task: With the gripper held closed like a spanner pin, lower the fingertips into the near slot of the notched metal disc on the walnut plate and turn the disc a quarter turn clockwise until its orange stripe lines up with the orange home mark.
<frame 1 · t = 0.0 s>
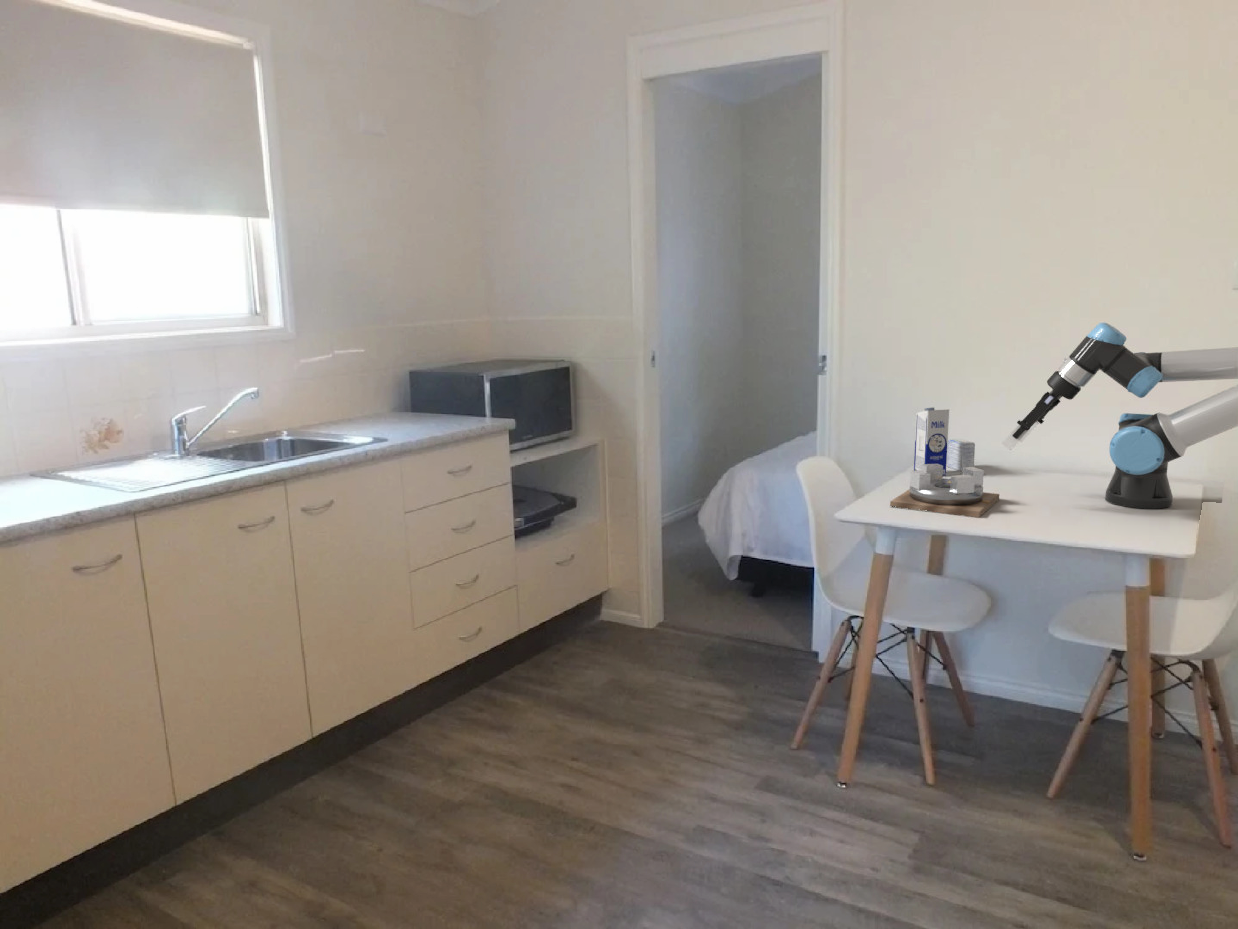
hand: (1011, 442, 242), 15 cm above the table, tool tilted 35°, fingers open, 13 cm apart
notched metal disc: (946, 483, 242), point 5 cm above the table, hinge at 0.0°
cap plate: (945, 503, 243), on the table
milk carton: (929, 474, 279), on the table
medicine box: (960, 469, 285), on the table
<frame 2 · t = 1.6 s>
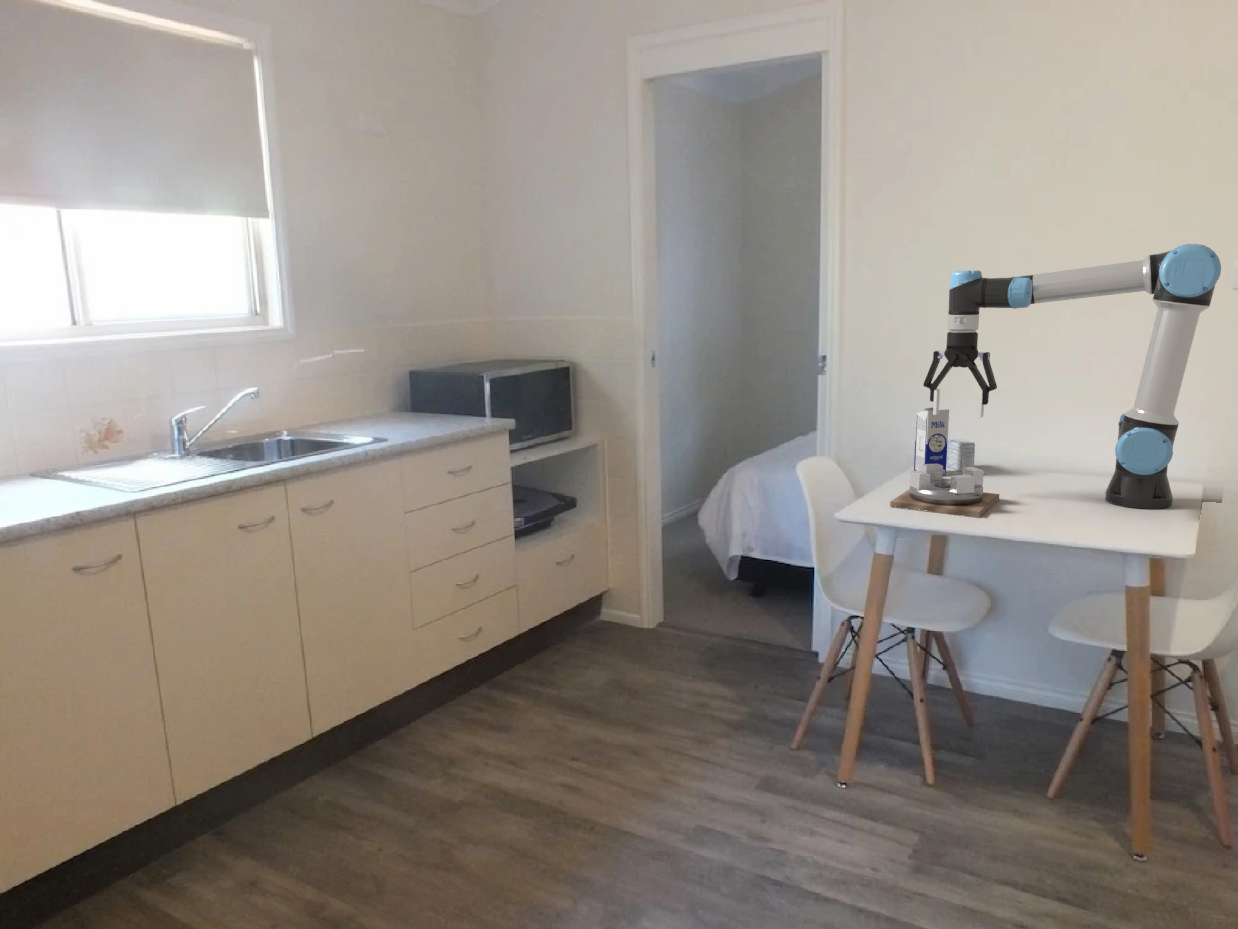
hand: (957, 415, 245), 22 cm above the table, tool pointing down, fingers open, 11 cm apart
nothing on the table moved.
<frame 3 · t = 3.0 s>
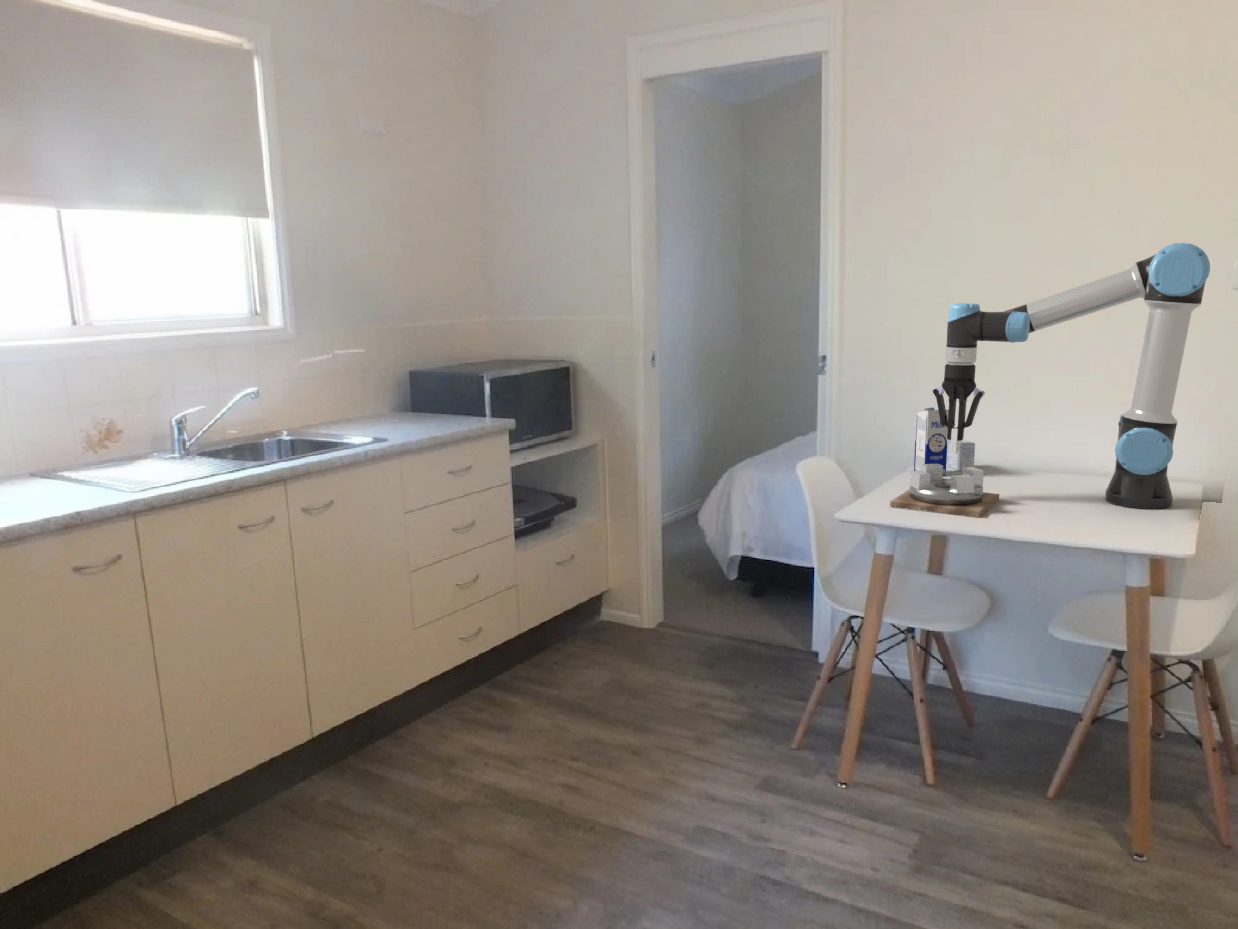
hand: (954, 452, 247), 12 cm above the table, tool pointing down, fingers closed
nothing on the table moved.
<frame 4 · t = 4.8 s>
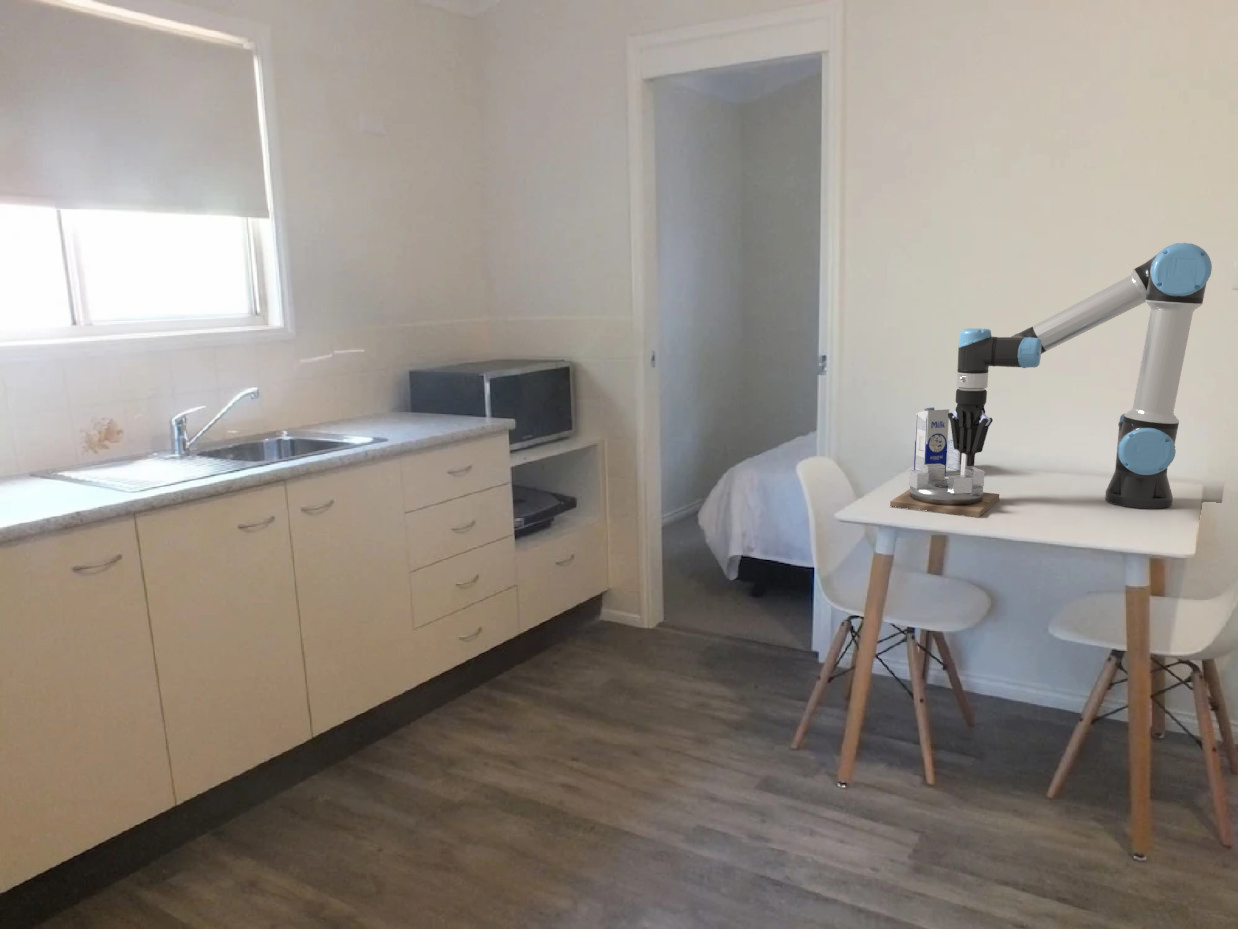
hand: (965, 477, 246), 6 cm above the table, tool pointing down, fingers closed
notched metal disc: (946, 483, 242), point 5 cm above the table, hinge at -5.0°, touching gripper
everything else where it was.
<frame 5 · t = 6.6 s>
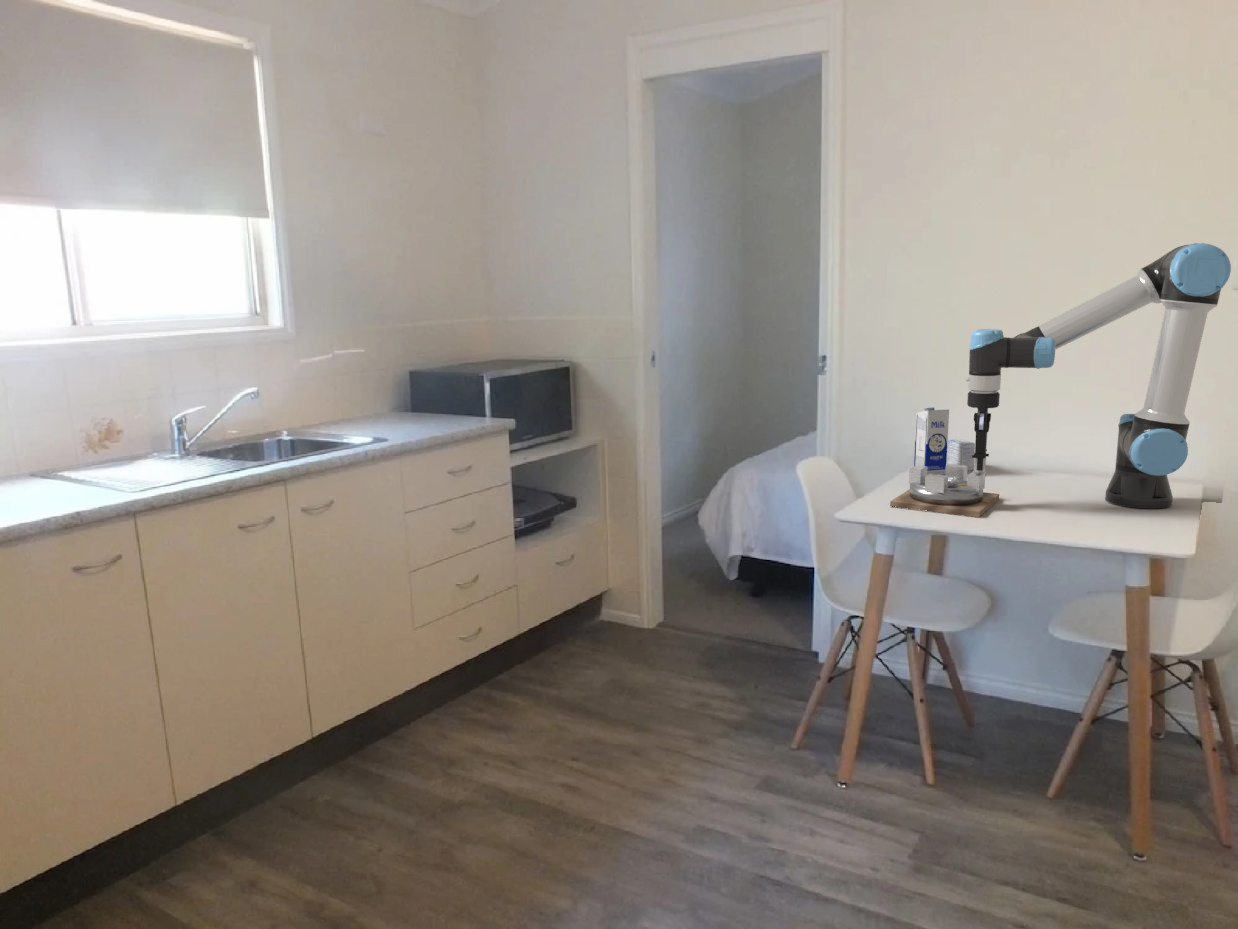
hand: (979, 481, 240), 6 cm above the table, tool pointing down, fingers closed
notched metal disc: (946, 483, 242), point 5 cm above the table, hinge at -49.1°, touching gripper
everything else where it was.
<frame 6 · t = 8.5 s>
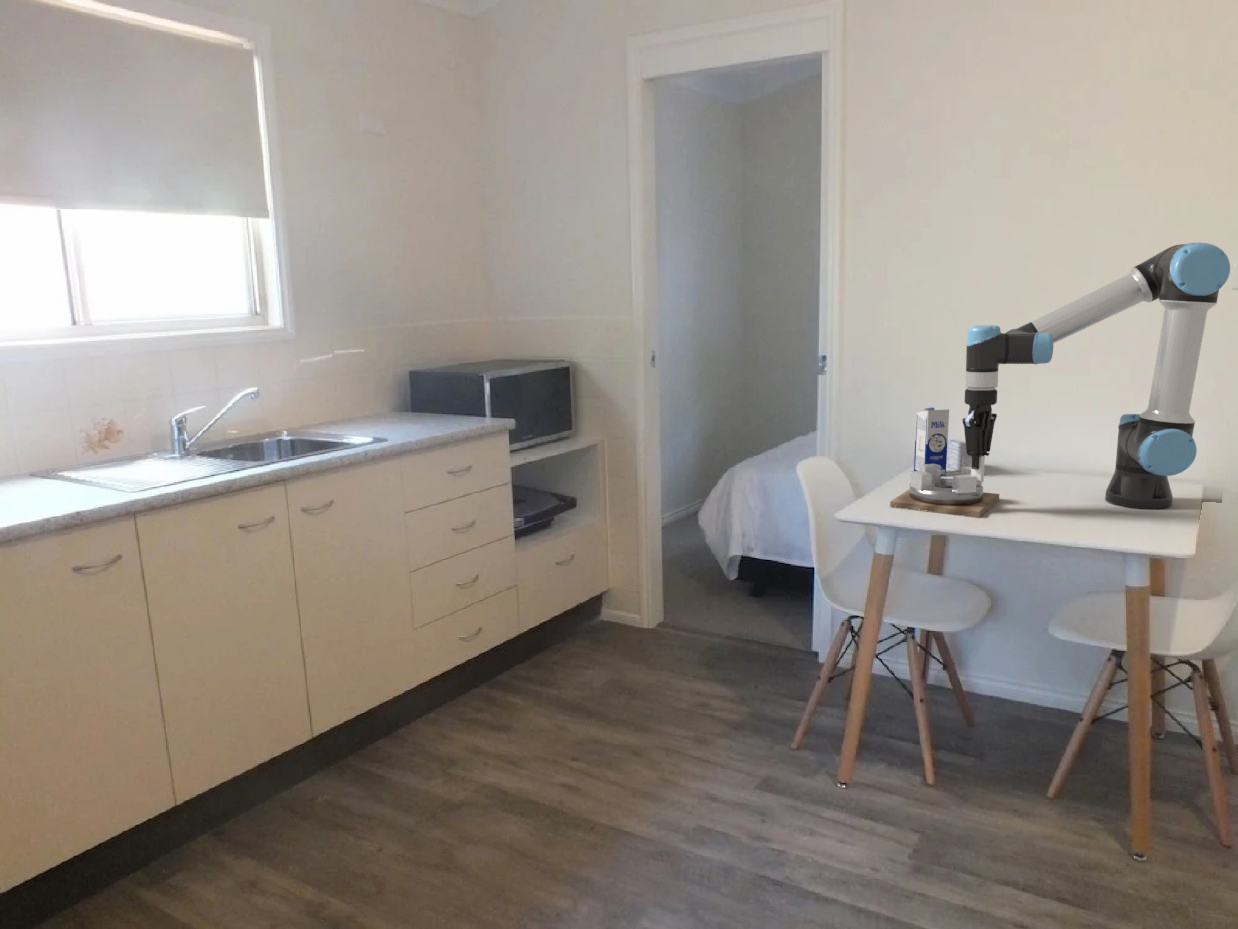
hand: (977, 481, 235), 7 cm above the table, tool pointing down, fingers closed
notched metal disc: (946, 483, 242), point 5 cm above the table, hinge at -85.3°
everything else where it was.
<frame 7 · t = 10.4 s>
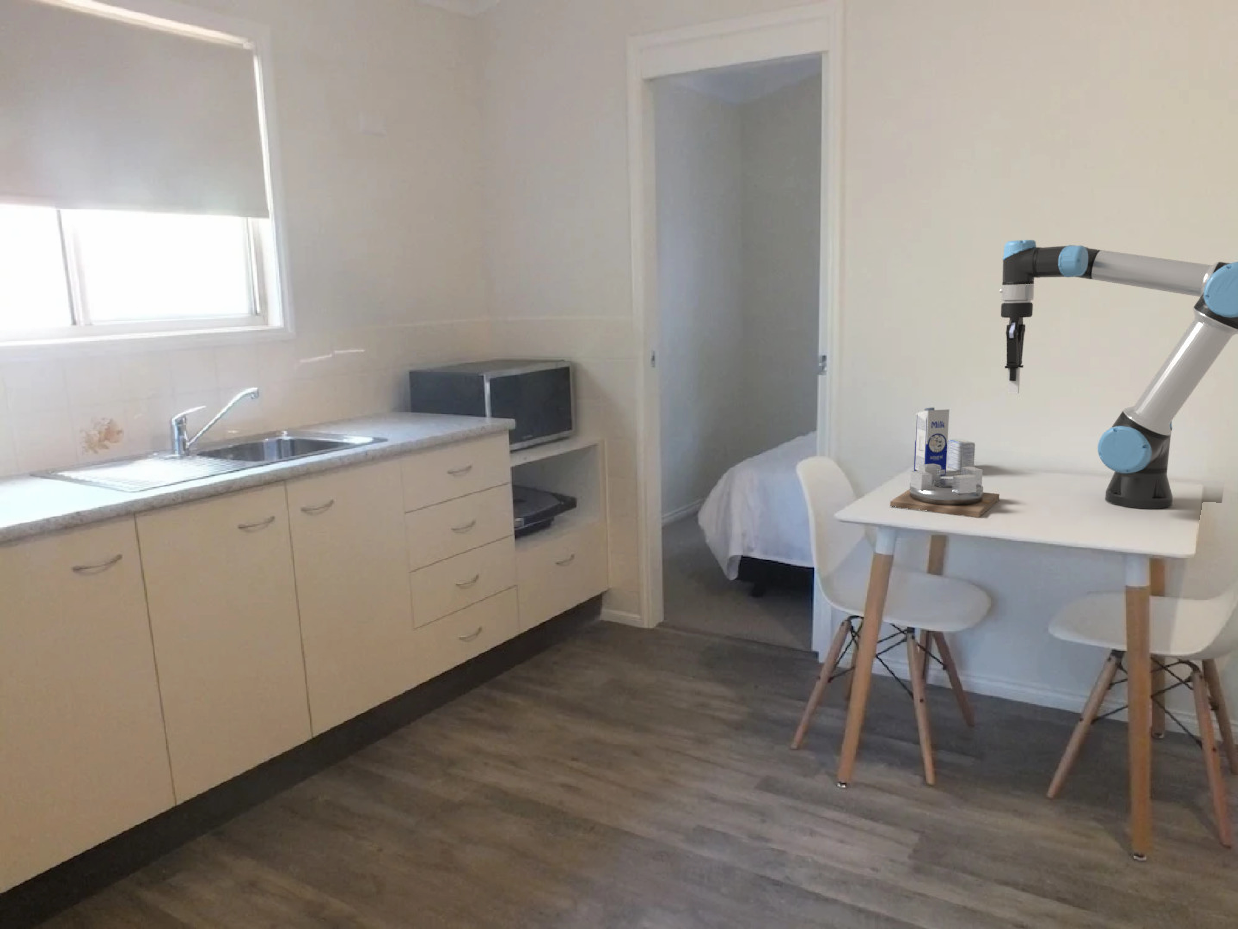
hand: (1012, 392, 244), 28 cm above the table, tool pointing down, fingers closed
nothing on the table moved.
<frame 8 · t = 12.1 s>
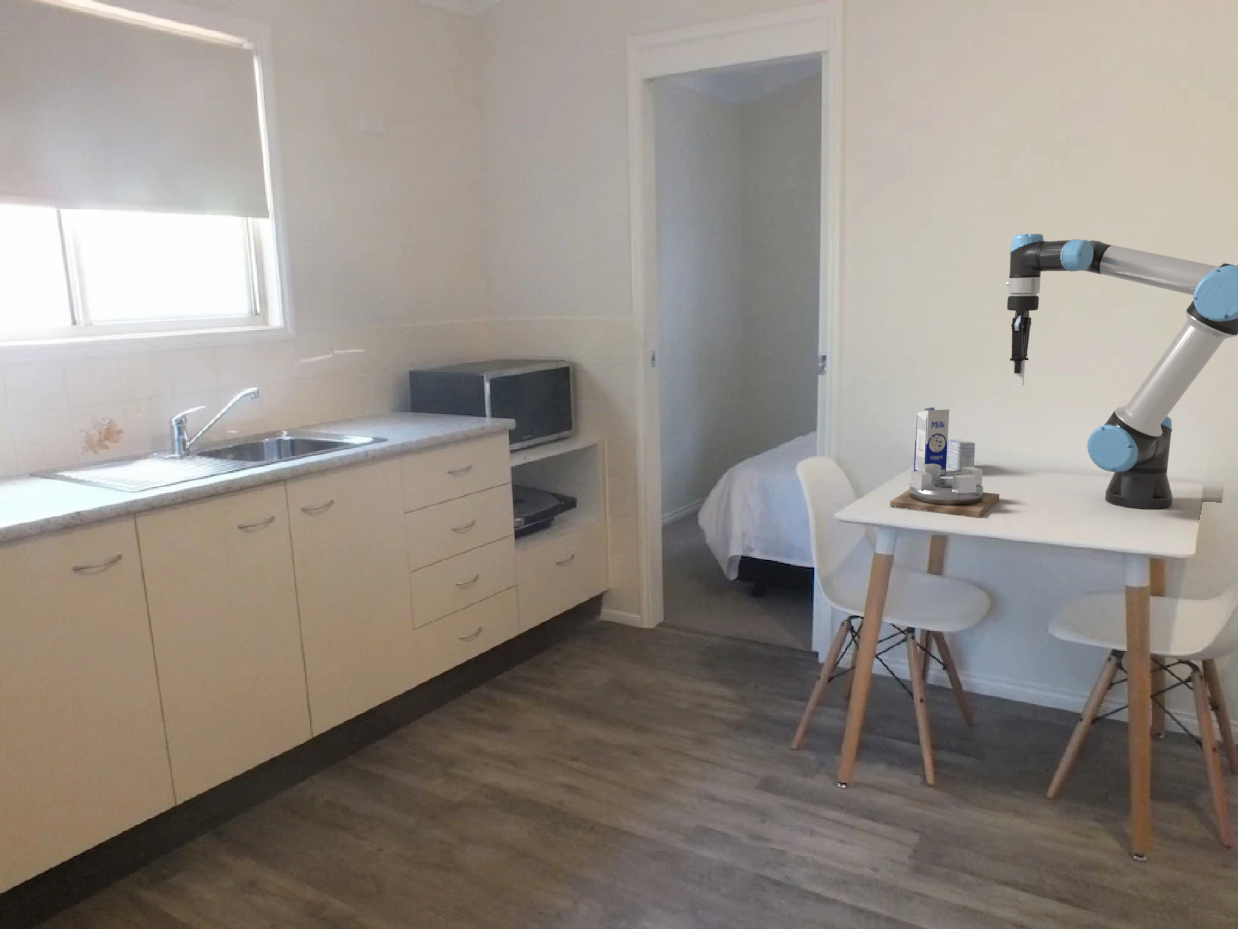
hand: (1017, 385, 247), 29 cm above the table, tool pointing down, fingers closed
nothing on the table moved.
at the end: notched metal disc at -85° (first picture: +0°); notched metal disc touching nothing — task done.
